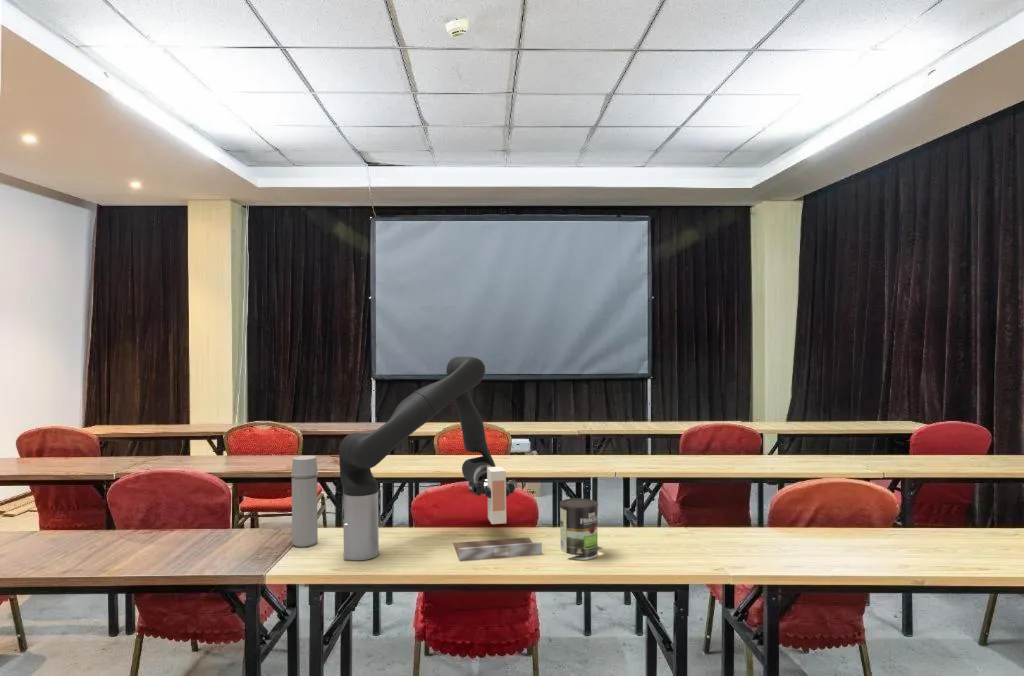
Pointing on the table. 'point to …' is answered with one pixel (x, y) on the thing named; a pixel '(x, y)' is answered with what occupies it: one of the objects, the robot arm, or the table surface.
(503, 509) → the tea box
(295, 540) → the water bottle
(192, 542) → the table surface
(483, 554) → the grey tray
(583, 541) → the coffee can
